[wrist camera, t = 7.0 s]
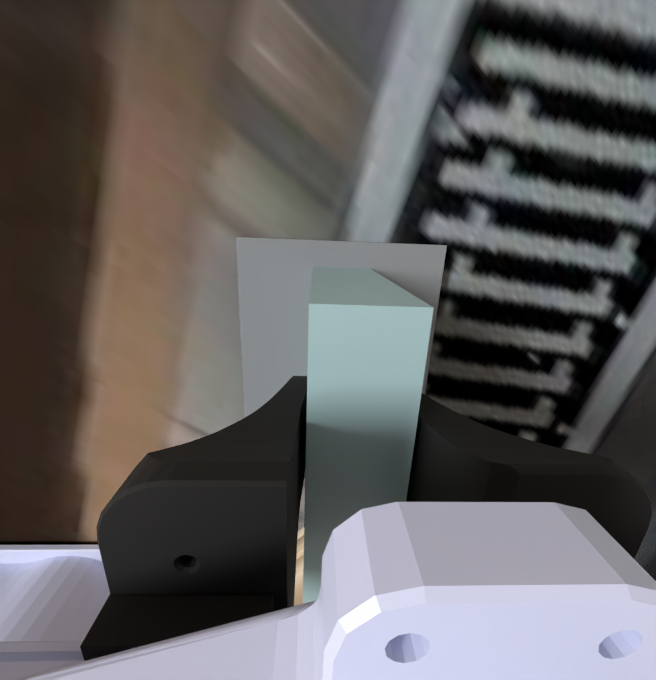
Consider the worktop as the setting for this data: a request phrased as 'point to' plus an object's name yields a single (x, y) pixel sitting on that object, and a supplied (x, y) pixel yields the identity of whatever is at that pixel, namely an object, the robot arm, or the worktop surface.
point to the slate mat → (294, 292)
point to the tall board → (358, 400)
